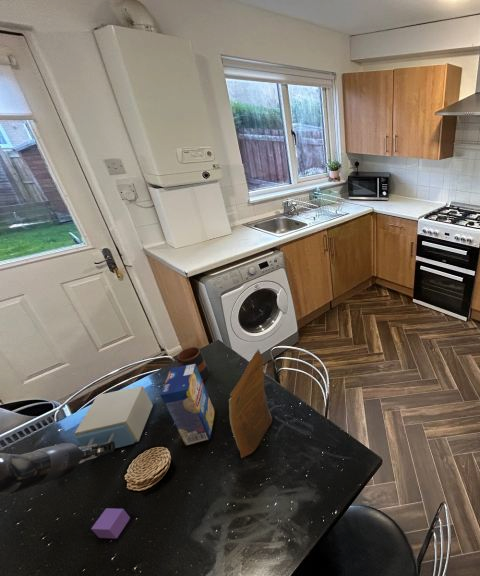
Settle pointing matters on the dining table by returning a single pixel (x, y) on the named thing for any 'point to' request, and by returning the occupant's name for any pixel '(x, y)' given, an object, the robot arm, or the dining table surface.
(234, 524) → the dining table surface
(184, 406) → the blue cereal box
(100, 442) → the drawer
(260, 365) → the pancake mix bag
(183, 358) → the mug
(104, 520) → the block
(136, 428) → the cabinet
